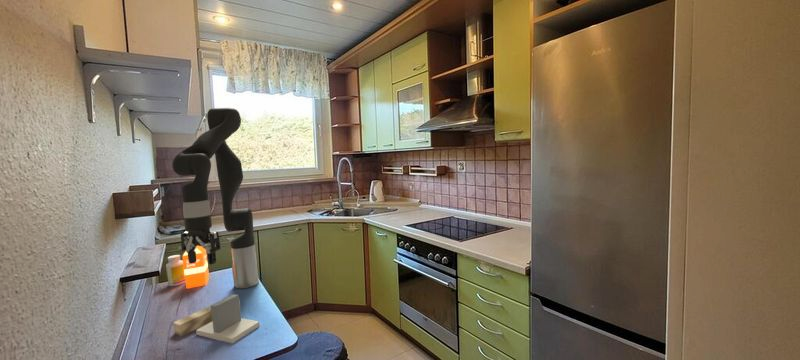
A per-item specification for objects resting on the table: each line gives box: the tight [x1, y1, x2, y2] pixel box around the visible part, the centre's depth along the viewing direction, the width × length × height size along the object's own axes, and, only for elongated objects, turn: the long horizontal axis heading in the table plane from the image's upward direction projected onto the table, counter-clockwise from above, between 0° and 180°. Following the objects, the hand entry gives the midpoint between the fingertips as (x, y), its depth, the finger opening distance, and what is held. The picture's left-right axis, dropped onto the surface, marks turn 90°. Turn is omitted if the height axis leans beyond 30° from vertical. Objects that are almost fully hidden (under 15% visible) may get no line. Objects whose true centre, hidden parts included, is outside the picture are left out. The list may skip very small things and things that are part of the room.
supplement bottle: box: [165, 254, 186, 287], centre depth 148 cm, size 7×7×13 cm
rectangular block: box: [173, 300, 241, 337], centre depth 112 cm, size 20×4×4 cm, turn 149°
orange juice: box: [181, 246, 210, 290], centre depth 146 cm, size 8×9×20 cm
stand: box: [195, 293, 260, 345], centre depth 103 cm, size 16×10×10 cm, turn 66°
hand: (202, 263), depth 107 cm, fingers open, 8 cm apart
